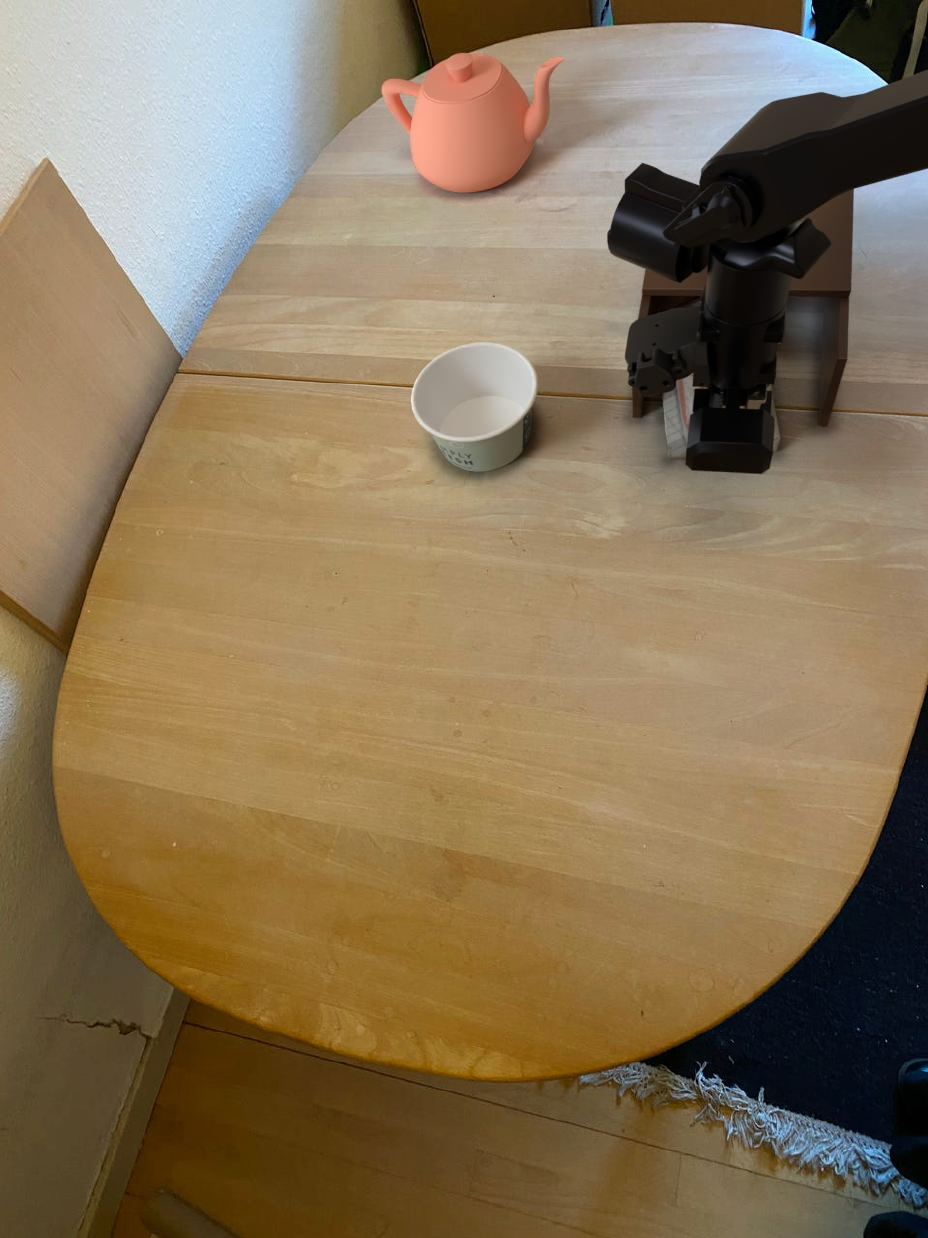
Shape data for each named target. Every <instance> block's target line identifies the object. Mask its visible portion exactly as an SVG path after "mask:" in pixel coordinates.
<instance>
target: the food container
mask: <svg viewBox="0 0 928 1238" xmlns="http://www.w3.org/2000/svg"><path fill="white" fill-rule="evenodd" d="M538 391H539V378H538V373H537V371H536V368H535V367H534V365H533V363H532V362H531V360H530V359H529V358H528V357H527V356H526V355H525V354H524V353H522V352H521V351H520V350H518V349H516V348H514V347H512V346H511V345H506V344H503V343H499V342H493V341H491V342H490V341H476V342H470V343H466V344H462V345H457V346H455V347H453V348H450V349H448V350H446V351H444V352H442V353H441V354H439V355H437V356H436V357H434V358H433V359H432V360H431V361H430V362H429V363H428V364H427V365H426V366H425V367H424V368H423V369H422V370H421V372H420V373H419V374H418V376H417V377H416V380H415V382H414V383H413V387H412V390H411V395H410V397H411V398H410V403H411V404H410V405H411V409H412V413H413V415H414V417H415V419H416V421H417V423H419V425H420V426H421V427H422V428H423V429H424V430H425V431H426V432H428V433H429V434H430V435H431V437H432V439H433V440H434V442H435V444H436V446H437V447H438V448H439V450H440V451H441V453H442V454H443V456H444V457H445V458H446V460H447V461H448V462H450V464H452V465H453V466H455V467H456V468H459V469H462V470H464V471H468V472H479V473H480V472H490V471H494V470H497V469H499V468H503V467H505V466H506V465H508V464H510V463H512V462H513V461H515V460H516V459H517V458H518V457H519V456H520V455H521V454H522V453H523V451H524V450H525V448H526V447H527V446H528V443H529V441H530V437H531V431H532V419H533V418H532V417H533V405H534V403H535V401H536V399H537V395H538Z"/></svg>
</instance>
